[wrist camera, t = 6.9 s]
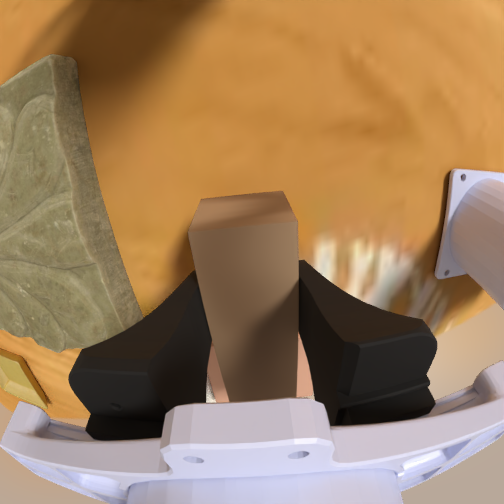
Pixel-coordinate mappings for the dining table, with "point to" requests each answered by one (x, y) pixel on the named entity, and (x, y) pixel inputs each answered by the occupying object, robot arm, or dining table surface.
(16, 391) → the saucer
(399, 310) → the dining table surface
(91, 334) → the decorative tile
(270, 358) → the walnut stick
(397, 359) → the robot arm
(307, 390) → the glazed tile
